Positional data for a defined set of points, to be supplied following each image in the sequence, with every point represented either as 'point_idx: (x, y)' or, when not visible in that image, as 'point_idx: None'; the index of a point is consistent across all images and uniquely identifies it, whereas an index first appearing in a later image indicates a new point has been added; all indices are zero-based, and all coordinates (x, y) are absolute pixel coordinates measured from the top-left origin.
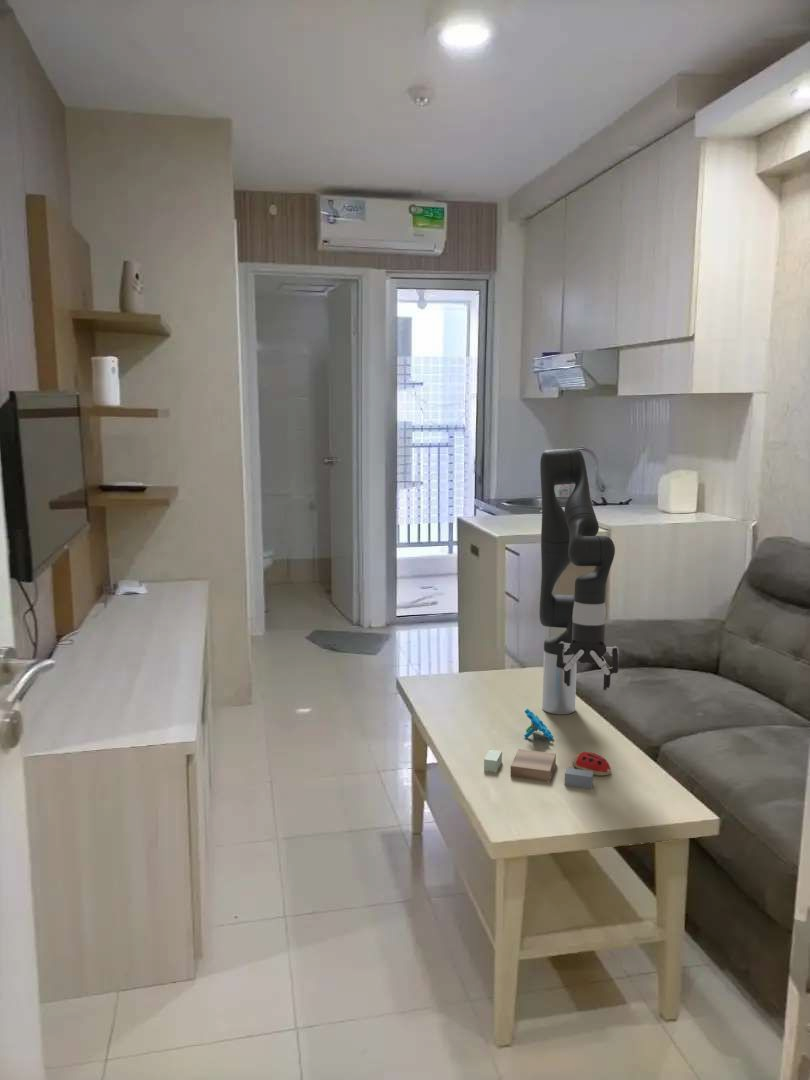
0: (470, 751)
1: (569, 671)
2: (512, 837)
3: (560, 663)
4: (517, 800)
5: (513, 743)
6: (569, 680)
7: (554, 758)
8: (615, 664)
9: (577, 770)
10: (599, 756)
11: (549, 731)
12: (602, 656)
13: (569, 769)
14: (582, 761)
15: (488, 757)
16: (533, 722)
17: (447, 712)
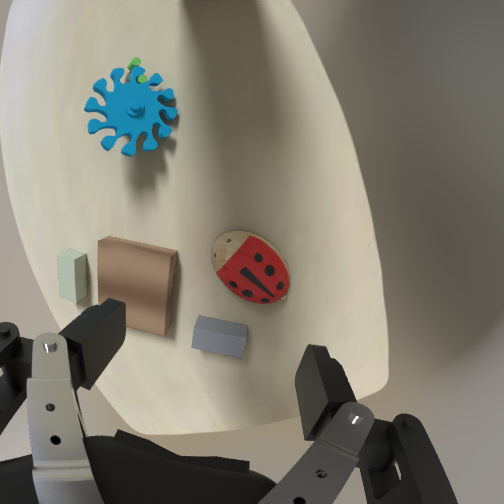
0: (42, 216)
1: (85, 383)
2: (150, 433)
3: (20, 396)
4: (134, 376)
5: (97, 159)
6: (110, 358)
7: (169, 277)
8: (382, 495)
9: (215, 336)
10: (268, 278)
11: (166, 97)
12: (337, 495)
13: (199, 333)
14: (229, 286)
15: (63, 289)
16: (106, 149)
17: (23, 64)
